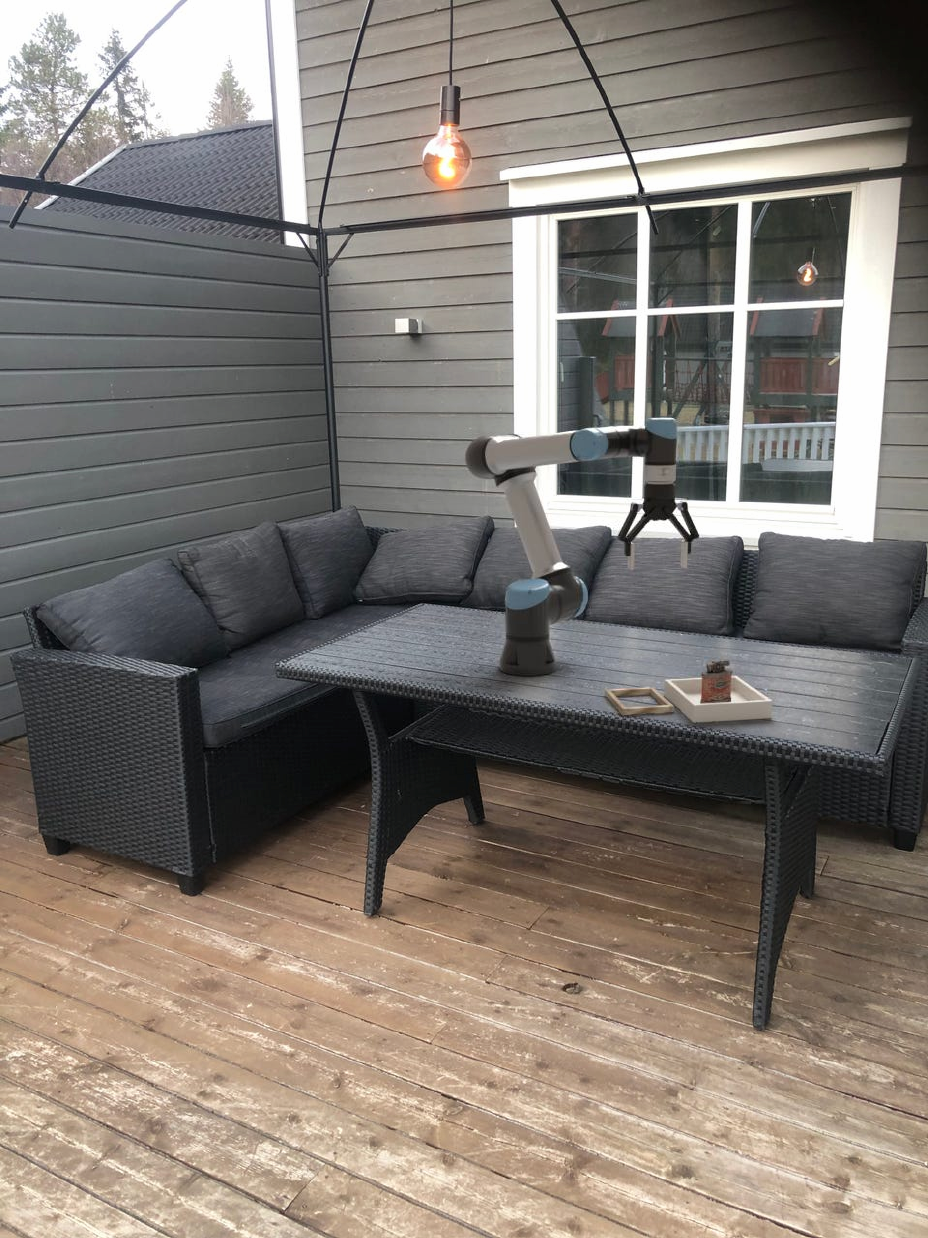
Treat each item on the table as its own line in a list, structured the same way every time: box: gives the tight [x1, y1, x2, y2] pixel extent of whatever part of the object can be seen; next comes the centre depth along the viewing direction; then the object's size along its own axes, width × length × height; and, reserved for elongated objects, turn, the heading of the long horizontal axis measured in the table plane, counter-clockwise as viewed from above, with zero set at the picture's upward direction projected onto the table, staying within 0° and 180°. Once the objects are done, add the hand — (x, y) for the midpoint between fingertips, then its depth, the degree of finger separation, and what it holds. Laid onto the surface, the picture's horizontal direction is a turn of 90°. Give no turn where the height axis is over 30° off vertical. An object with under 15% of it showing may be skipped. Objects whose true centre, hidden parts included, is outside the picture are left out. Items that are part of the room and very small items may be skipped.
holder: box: [604, 686, 675, 716], centre depth 227 cm, size 12×15×2 cm
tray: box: [663, 675, 773, 724], centre depth 224 cm, size 18×20×4 cm
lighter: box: [700, 659, 734, 704], centre depth 223 cm, size 8×3×10 cm, turn 114°
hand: (657, 568), depth 240 cm, fingers open, 13 cm apart
